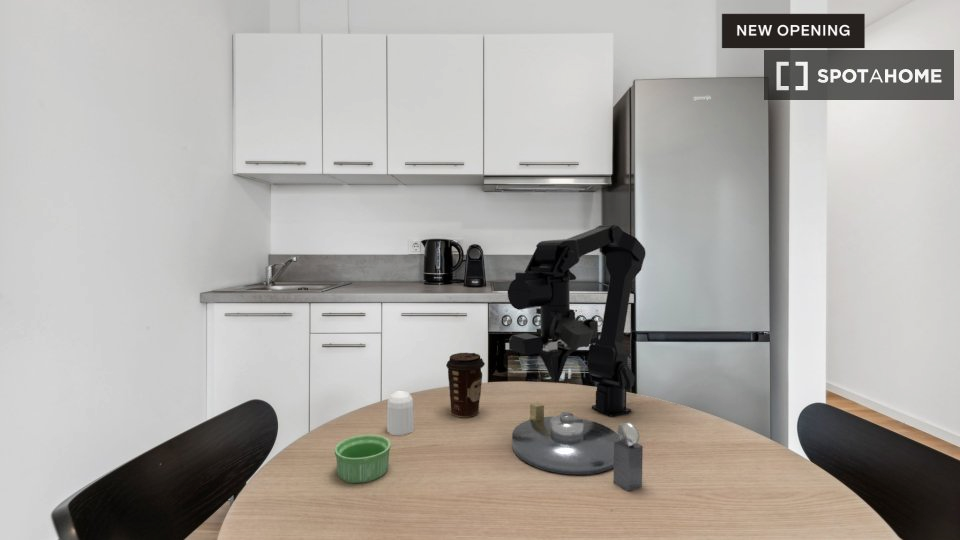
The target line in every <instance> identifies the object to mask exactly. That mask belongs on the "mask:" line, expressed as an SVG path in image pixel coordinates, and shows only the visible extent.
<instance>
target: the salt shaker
mask: <svg viewBox="0 0 960 540" xmlns="http://www.w3.org/2000/svg"><path fill="white" fill-rule="evenodd" d="M386 403H387V405H386V408H387V409H386V410H387V412H386V414H387V417H386V418H387V419H386V421H387V426H386V427H387V429H386V430H387V433H388V432H389V433H390V434H389V433H388V434H389V435H392V436H406V435H409V434H411V433H413V432H414V430H415V428H414V427H415V423H414V422H415V420H414V419H415V417H414V416H415V415H414V413H415V412H414V410H415V409H414V399H413V396H412V395H411V394H410V393H409V392H407V391H406V390H405V391H404V390H397V391H395V392H393V393H392V394H391V395H390V396H389V397H388V400H387V402H386ZM410 432H411V433H410ZM408 433H409V434H408ZM405 434H406V435H405Z"/></svg>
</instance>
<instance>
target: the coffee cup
mask: <svg viewBox="0 0 960 540" xmlns="http://www.w3.org/2000/svg"><path fill="white" fill-rule="evenodd" d="M445 365H446V368H447V376H448V378H447V379H448V388H449V389H448V390H449V399H450V414H451V416H454V417H456V418H457V417H458V418H470V417H474V416H476V415H478V414H479V411H480V399H481V393H482V383H483V372H482V368H483V367H485V365H486V364H485V362H484V359H483V358H482V357H481V355H480V354H479V353H475V352H458V353H454V354H451V355H449V360H448V361H447V362H446V364H445Z"/></svg>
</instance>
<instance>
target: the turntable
mask: <svg viewBox="0 0 960 540" xmlns="http://www.w3.org/2000/svg"><path fill="white" fill-rule="evenodd" d="M552 417H554V416H551V415H550V416H545V405H544V404H542V403H540V402H534V403H530V404H529V419H528V420H525V421H523V422H521V423H519V424H518V425H516V426H515V427H514V429H513V430H512V433H511V435H512V443H511V445H512V446H511V448H512V451H514V454H515V455H516V456H517V457H518V458H519V459H520V460H522V461H523V462H525V463H527V464H529V465H530V466H532V467H535V468H537V469H541V470H544V471H547V472H552V473H556V474H563V475H574V476H575V475H594V474H599V473H603V472H606V471H609V470H611V469H614V443H615V442H618V441H621V440H620V438H619V435H618V432H616V431H615V430H613V429H611V428H610V427H609V426H606V425H604V424H602V423H598V422H595V421H593V420H589V419H584V418H580V419H581V420H583V441H581V442H580V443H576V444H563V443H559V442H556V441H554V440H552V439H551V437H550V419H551V418H552Z"/></svg>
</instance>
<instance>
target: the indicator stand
mask: <svg viewBox="0 0 960 540" xmlns="http://www.w3.org/2000/svg"><path fill="white" fill-rule="evenodd" d="M617 434H618V435H619V438H620V440H621V441H618V442H615V443H614V467H613V479H612V480H613V484H614V485H616V486H618V487H620V488H622V489H623V490H626V492H627V493H628V492H631V491H634V490H636V489H639V488H641V487H643V455H644V454H643V453H644V452H643V449H644V447H643V445H642V444H639V441H640V432H639V429H638V427H637V426H636V425H635V424H634V423H633V422H631V421H625V422H621V423H620V424H619V425H618V428H617Z"/></svg>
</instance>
